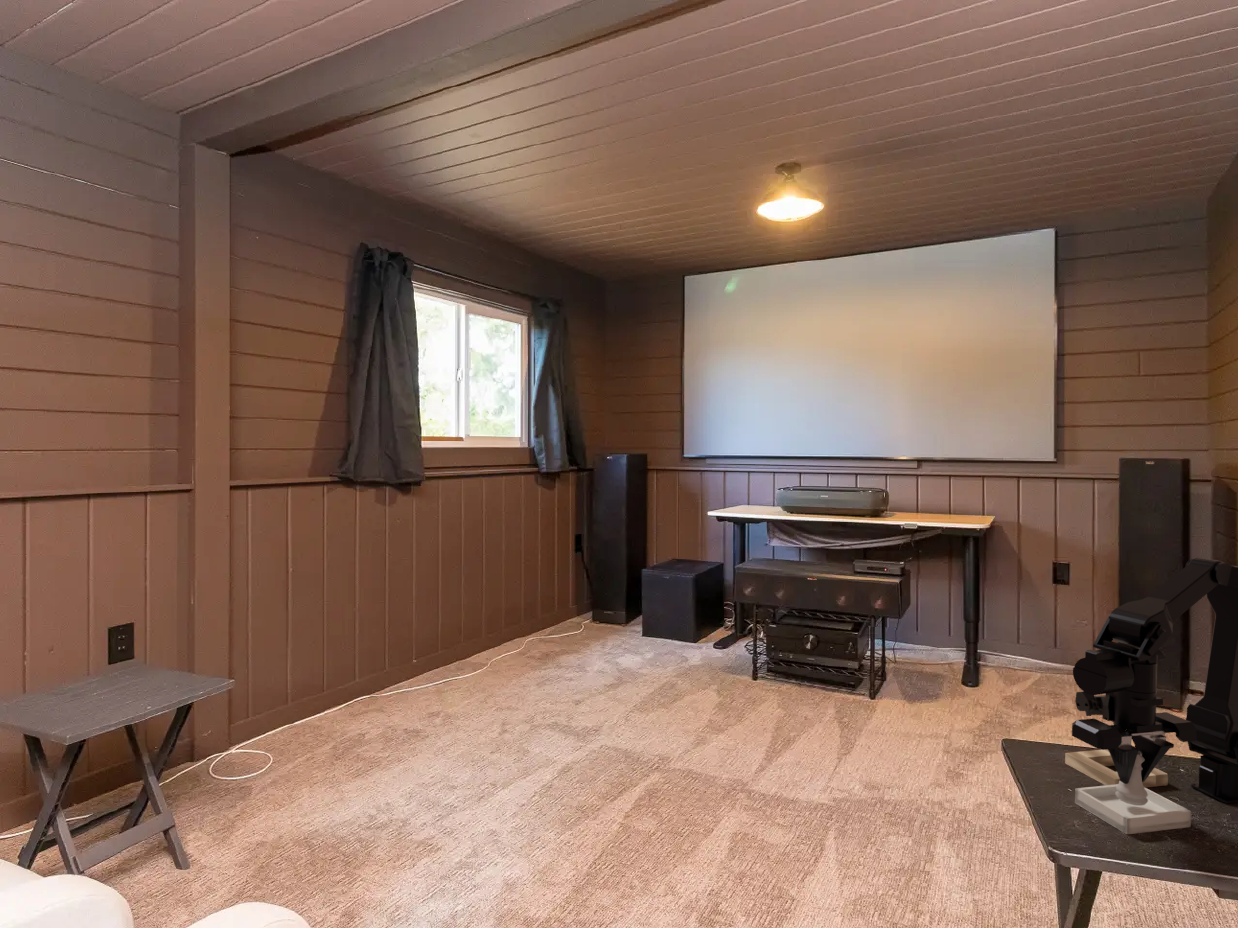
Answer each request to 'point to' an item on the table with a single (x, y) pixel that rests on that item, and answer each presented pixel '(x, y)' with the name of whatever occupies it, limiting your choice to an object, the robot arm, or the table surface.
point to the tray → (1132, 810)
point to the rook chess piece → (1133, 786)
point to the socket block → (1095, 768)
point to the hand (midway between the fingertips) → (1132, 781)
